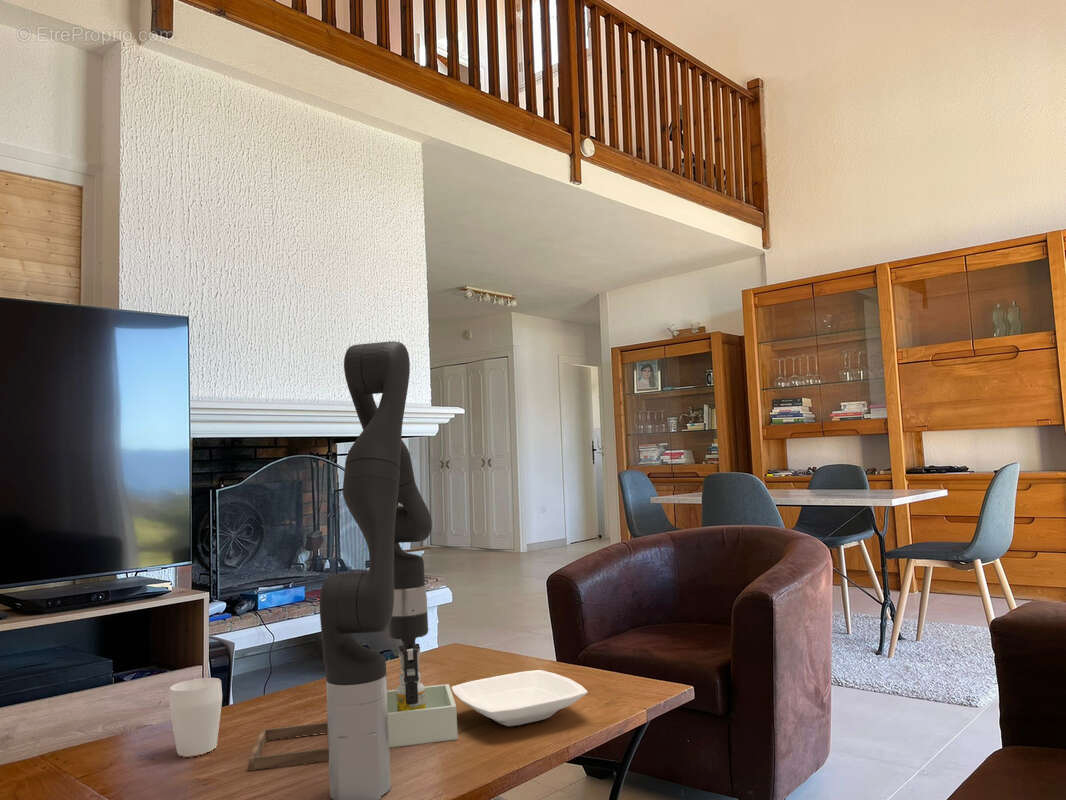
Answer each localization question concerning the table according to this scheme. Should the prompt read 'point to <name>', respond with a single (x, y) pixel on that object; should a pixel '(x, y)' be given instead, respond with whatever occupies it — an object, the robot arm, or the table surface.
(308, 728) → the walnut frame
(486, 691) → the bowl
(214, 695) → the cup
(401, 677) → the supplement bottle
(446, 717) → the plastic bin
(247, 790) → the table surface
